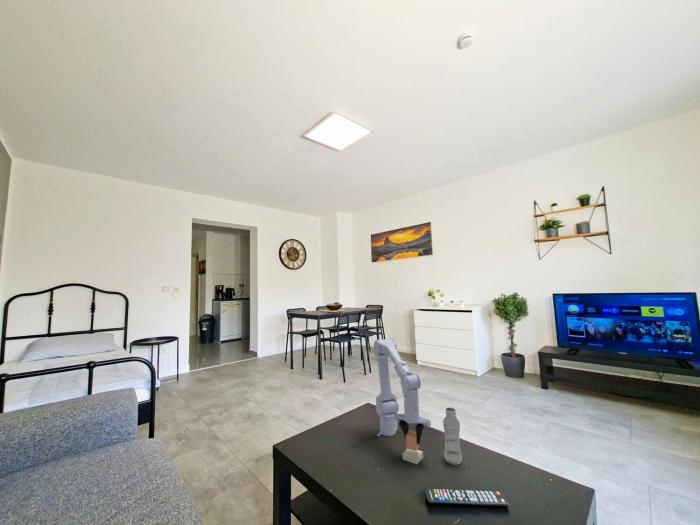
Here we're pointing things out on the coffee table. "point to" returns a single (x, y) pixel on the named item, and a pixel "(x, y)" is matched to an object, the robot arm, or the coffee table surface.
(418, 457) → the top slab
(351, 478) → the coffee table surface
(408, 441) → the block
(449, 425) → the plastic bottle
